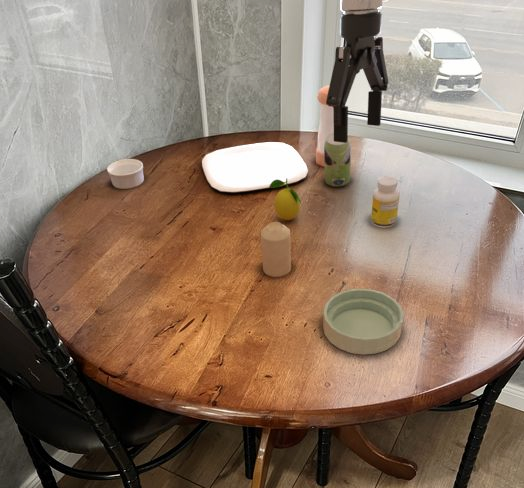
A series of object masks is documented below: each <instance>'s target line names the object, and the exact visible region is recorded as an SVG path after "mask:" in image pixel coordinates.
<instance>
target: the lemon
mask: <svg viewBox="0 0 524 488" xmlns="http://www.w3.org/2000/svg"><path fill="white" fill-rule="evenodd" d="M284 183H286V185H284ZM283 185H284V186H285V188H283V189H281V190H279V192H278V193H277V194H276V197H275V199H274V210H275V213H276V215H277V216H278V217H279V218H280V219H282V220H284V221H291V220H294V219H295V218H297V216H298V215H299V212H300V210H301V206H302V201H301V198H300V196H299V194H298V193H297V192H296V191H295V190H294V189H292V188H290V187H289V184H288V185H287V178H286V182H282V181H281V180H274V181H273V182H272V183H271V184H270V187H269V188H268V189H275V188H280V187H283Z"/></svg>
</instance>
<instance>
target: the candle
mask: <svg viewBox="0 0 524 488" xmlns="http://www.w3.org/2000/svg"><path fill="white" fill-rule="evenodd" d="M260 243H261V245H260V246H261V259H262V271H263V273H264V274H265V275H266V276H269V277H274V278H279V277H284V276H286V275H289V273H290V272H291V270H292V254H291V253H292V252H291V251H292V248H291V245H292V243H291V230H290V228H288V227H287V226H286V225H284V224H282V223H281V222H279V221H272V222H269V223H268V224H267V225H266V226H265V227H263V228H262V229H261V231H260Z"/></svg>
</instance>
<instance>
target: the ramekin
mask: <svg viewBox="0 0 524 488" xmlns="http://www.w3.org/2000/svg"><path fill="white" fill-rule="evenodd" d="M106 171H107V174H108V176H109V178H110V181H111V184H112V186H113V187H114V188H116V189H120V190H126V189H127V190H128V189H132V188H136V187H139V186H140V185H142V184H143V183H144V181H145V177H144V175H145V174H144V163H143V162H142V161H141V160H139V159H135V158H122V159H119V160H116V161H114V162H112V163H110V164H109V165H108V166H107V168H106Z"/></svg>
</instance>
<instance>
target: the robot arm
mask: <svg viewBox="0 0 524 488" xmlns="http://www.w3.org/2000/svg"><path fill="white" fill-rule="evenodd" d="M339 5H340V8H339V9H340V11H341V12H343V13H342V14H341V15H340V17H339V35H340V37H341V38H343V39H345V46H336V47H335V52H334V53H335V54H334V64H333V68H332V72H331V78H330V82H329V85H330V86H329V91H328V95H327V100H326V104H327V105H328V106H331V107H333V110H334V141H335V142H343V143H346V142H347V141H348V139H349V136H348V133H349V129H348V128H349V106H348V105H346V104H347V101H348V98H349V96H350V93H351V91H352V90H351V89H352V88H353V85H354V81H355V79H356V77H357V75H358V74H359V73H360V72H361V70H363V73H364V75H365V78H366V80H367V83H368V86H369V88H370V91H368V93H367V94H368V95H367V123H366V124H367V126H375V127H376V126H377V127H380V126H381V122H382V120H381V118H382V101H383V100H382V98H383V92H387V90H388V85H389V78H388V77H389V76H388V71H387V66H386V65H387V64H386V60H385V55H384V54H385V53H384V42H383V41H384V39H383V36H379V35H380V34H381V33H382V15H383V13H381V11H380V9H382V7H383V0H340V3H339Z"/></svg>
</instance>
